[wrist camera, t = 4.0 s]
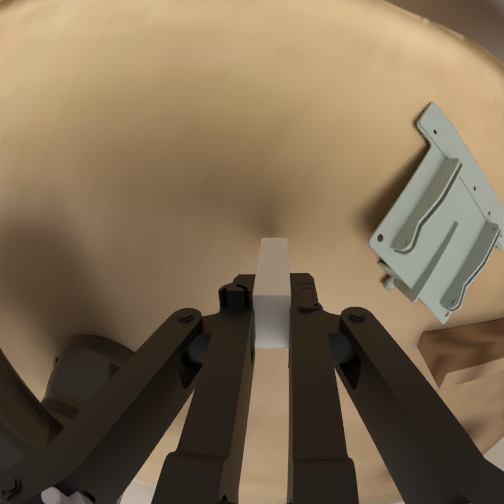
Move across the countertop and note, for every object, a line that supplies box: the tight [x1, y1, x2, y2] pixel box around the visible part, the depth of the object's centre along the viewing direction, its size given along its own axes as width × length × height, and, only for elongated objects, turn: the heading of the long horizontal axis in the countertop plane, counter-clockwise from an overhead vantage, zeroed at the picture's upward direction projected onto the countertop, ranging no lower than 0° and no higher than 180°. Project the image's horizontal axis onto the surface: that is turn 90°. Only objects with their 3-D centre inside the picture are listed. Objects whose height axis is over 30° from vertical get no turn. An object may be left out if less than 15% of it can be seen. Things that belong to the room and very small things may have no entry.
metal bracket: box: [368, 102, 504, 324], centre depth 20 cm, size 14×6×15 cm
